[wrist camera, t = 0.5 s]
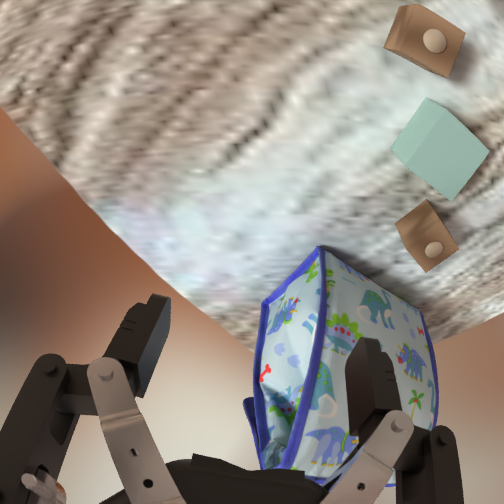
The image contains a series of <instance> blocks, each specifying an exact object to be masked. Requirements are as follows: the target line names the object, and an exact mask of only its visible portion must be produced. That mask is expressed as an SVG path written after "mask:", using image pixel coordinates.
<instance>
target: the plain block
mask: <svg viewBox="0 0 504 504" xmlns="http://www.w3.org/2000/svg"><path fill="white" fill-rule="evenodd" d="M391 149H392V151H393V152H394V153H395V154H396V156H397V157H398V158H399V159H400V161H401V162H402V163H403V165H404V166H405V167H407V168H408V169H409V170H411V171H412V172H413V173H415V174H416V175H417V176H419V177H420V178H421V179H423V180H424V181H425V182H427V183H428V184H429V185H431V186H432V187H433V188H435V189H436V190H437V191H438V192H440V193H441V194H442V195H443V196H445V197H446V198H447V199H448V200H450V201H452V200H453V199H454V198H455V196H456V195H457V194H458V193H459V191H460V190H461V189H462V188H463V186H464V185H465V184H466V183H467V181H468V180H469V179H470V177H471V176H472V175H473V174H474V172H475V171H476V170H477V168H478V167H479V166H480V164H481V163H482V162H483V160H484V159H485V158H486V156H487V155H488V153H489V152H490V151H489V150H488V149H487V148H486V147H485V146H484V145H483V144H482V143H481V142H480V141H479V140H478V139H477V138H476V137H475V136H474V135H473V134H472V133H471V132H470V131H469V130H468V129H467V128H466V127H465V126H464V125H463V124H462V123H461V122H460V121H459V120H458V119H457V118H456V117H455V116H453V115H452V114H451V113H450V112H449V111H448V110H447V109H445V108H444V107H442V106H440V105H439V104H437V103H435V102H433V101H432V100H430V99H428V98H425V99H424V101H423V102H422V104H421V105H420V107H419V108H418V110H417V111H416V112H415V114H414V115H413V117H412V118H411V120H410V121H409V123H408V124H407V125H406V127H405V128H404V130H403V131H402V133H401V134H400V135H399V137H398V138H397V140H396V141H395V142H394V144H393V145H392V147H391Z"/></svg>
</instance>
